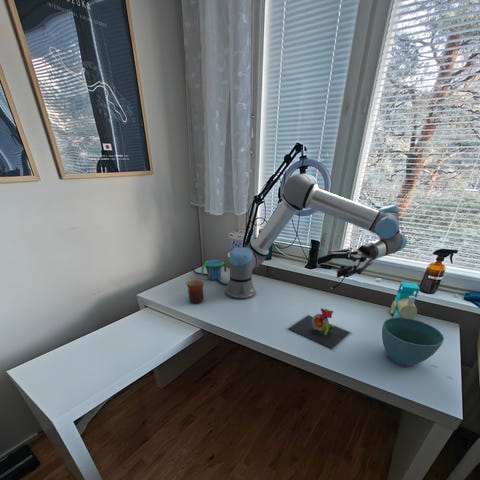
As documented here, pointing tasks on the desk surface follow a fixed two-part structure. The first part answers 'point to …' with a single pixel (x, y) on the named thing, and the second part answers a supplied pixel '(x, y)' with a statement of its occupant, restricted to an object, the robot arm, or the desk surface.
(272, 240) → the robot arm
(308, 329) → the mat
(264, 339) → the desk surface
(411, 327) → the teal green bowl
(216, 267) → the snack cup
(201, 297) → the mug
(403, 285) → the toy train
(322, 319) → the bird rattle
